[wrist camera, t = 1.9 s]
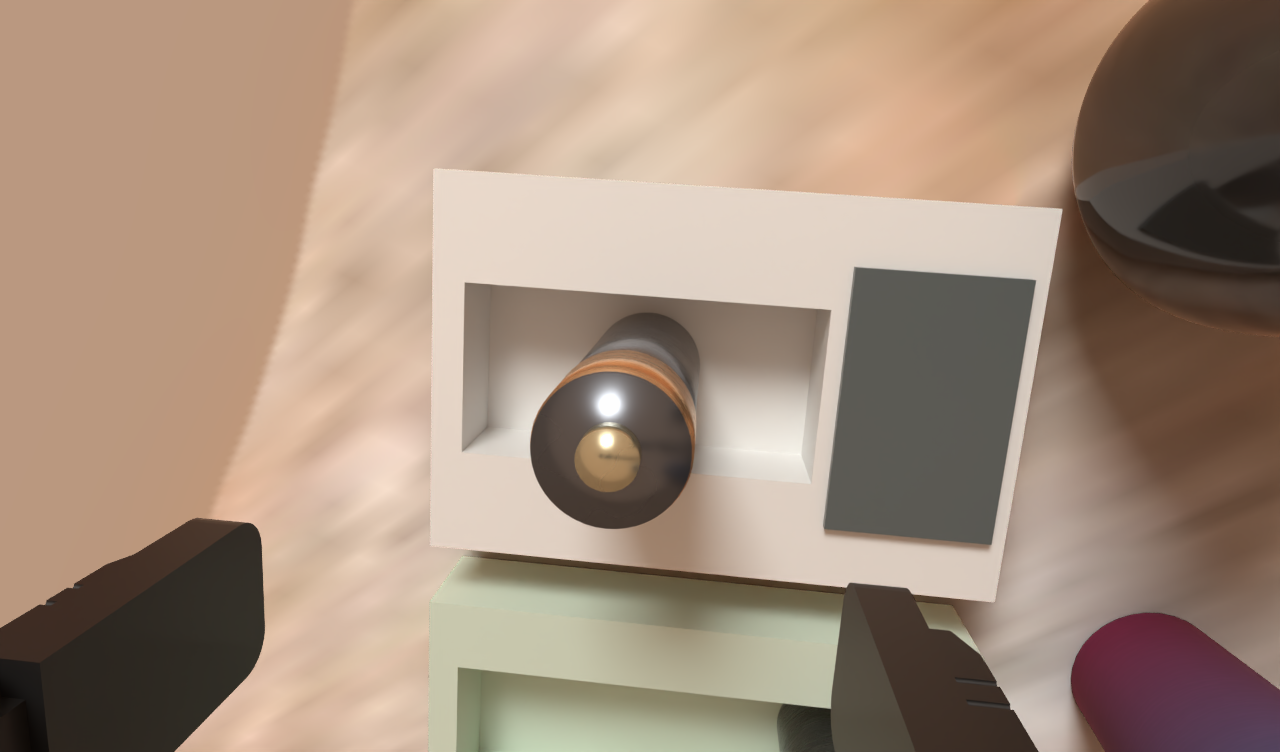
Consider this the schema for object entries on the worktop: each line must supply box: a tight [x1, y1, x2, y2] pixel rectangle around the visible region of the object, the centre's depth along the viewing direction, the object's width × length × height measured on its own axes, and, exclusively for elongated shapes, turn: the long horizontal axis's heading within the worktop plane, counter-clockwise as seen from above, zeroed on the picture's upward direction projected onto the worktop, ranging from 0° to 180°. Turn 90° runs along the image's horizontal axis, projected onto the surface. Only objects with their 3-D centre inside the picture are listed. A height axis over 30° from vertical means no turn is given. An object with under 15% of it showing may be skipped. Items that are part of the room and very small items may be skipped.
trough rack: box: [428, 556, 985, 752], centre depth 29 cm, size 18×10×4 cm, turn 86°
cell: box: [530, 312, 700, 529], centre depth 23 cm, size 4×4×11 cm
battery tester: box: [430, 168, 1063, 602], centre depth 26 cm, size 18×12×4 cm, turn 86°
